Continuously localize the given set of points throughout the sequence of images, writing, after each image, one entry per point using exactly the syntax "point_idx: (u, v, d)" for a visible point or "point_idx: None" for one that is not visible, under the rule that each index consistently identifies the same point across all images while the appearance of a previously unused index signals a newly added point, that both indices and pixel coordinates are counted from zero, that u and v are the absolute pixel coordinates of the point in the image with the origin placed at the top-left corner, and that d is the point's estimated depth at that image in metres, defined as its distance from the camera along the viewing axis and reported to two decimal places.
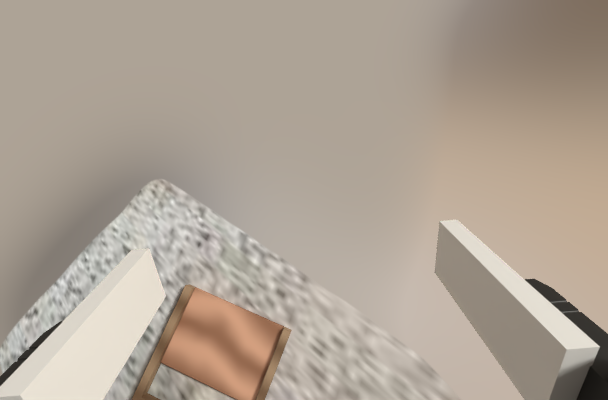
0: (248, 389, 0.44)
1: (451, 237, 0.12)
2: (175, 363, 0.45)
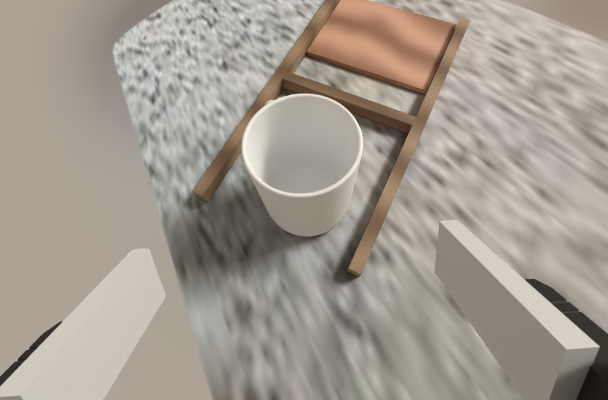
0: (419, 75, 0.35)
1: (451, 237, 0.12)
2: (324, 52, 0.37)
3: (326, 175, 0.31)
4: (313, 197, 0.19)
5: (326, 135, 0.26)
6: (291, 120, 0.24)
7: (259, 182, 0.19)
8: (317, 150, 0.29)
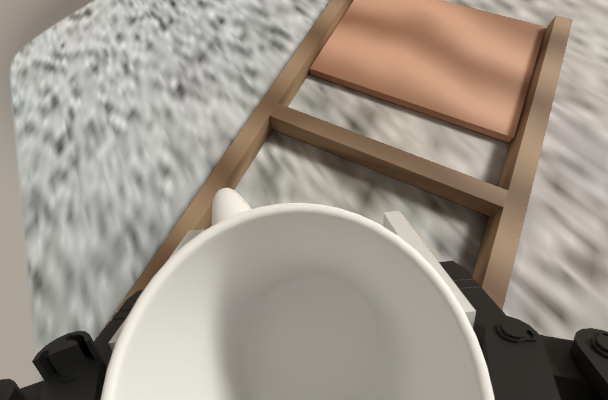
0: (497, 110, 0.21)
1: (390, 226, 0.13)
2: (339, 70, 0.23)
3: (346, 299, 0.17)
4: None
5: (351, 261, 0.12)
6: (269, 243, 0.10)
7: None
8: (329, 266, 0.15)
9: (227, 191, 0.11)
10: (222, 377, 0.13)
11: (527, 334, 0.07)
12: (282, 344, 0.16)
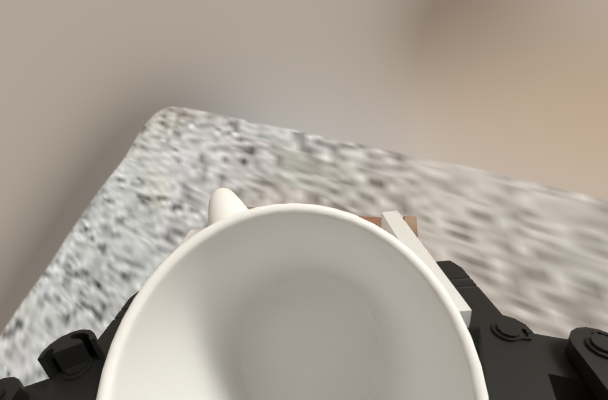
0: None
1: (388, 226, 0.13)
2: None
3: (343, 298, 0.17)
4: None
5: (348, 261, 0.12)
6: (266, 243, 0.10)
7: None
8: (326, 266, 0.15)
9: (224, 191, 0.11)
10: (219, 377, 0.13)
11: (522, 333, 0.07)
12: (279, 343, 0.16)
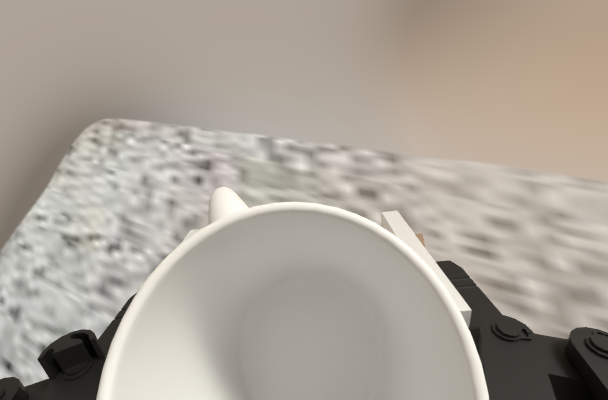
0: None
1: (387, 226, 0.13)
2: None
3: (344, 298, 0.17)
4: None
5: (348, 260, 0.12)
6: (266, 242, 0.10)
7: None
8: (326, 266, 0.15)
9: (224, 190, 0.11)
10: (219, 376, 0.13)
11: (522, 333, 0.07)
12: (279, 343, 0.16)
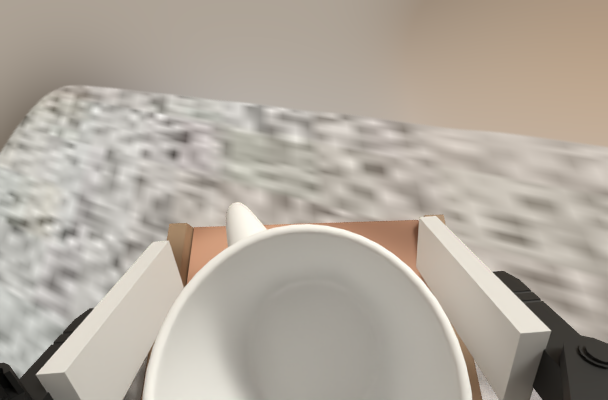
0: None
1: (429, 232, 0.12)
2: None
3: (344, 301, 0.18)
4: None
5: (350, 270, 0.13)
6: (279, 255, 0.12)
7: None
8: (329, 272, 0.16)
9: (239, 207, 0.12)
10: (232, 374, 0.14)
11: None
12: (285, 343, 0.17)
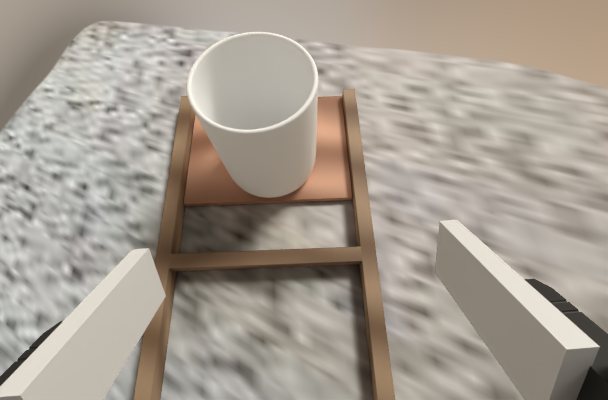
0: (334, 179, 0.28)
1: (451, 237, 0.12)
2: (208, 195, 0.28)
3: None
4: (263, 134, 0.18)
5: (286, 86, 0.24)
6: (246, 66, 0.23)
7: (204, 119, 0.18)
8: (279, 107, 0.27)
9: None
10: None
11: None
12: None
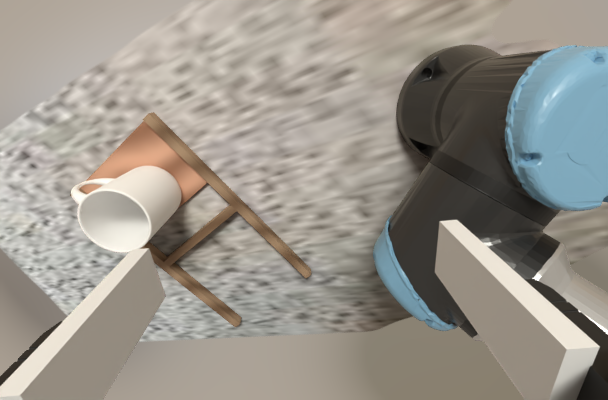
0: (193, 178, 0.44)
1: (451, 237, 0.12)
2: None
3: None
4: None
5: None
6: (95, 197, 0.36)
7: (122, 252, 0.37)
8: None
9: (72, 194, 0.36)
10: (132, 219, 0.43)
11: None
12: None
